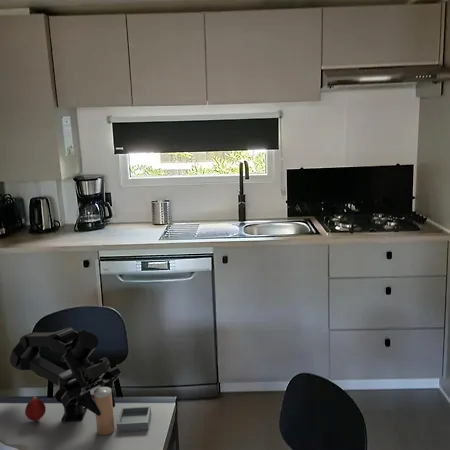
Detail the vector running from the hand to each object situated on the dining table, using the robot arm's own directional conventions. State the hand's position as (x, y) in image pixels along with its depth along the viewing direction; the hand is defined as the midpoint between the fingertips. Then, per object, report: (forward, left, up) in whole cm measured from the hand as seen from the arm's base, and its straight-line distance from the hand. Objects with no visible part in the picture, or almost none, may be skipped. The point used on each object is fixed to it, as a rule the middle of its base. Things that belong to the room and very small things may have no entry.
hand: (107, 410), depth 147 cm
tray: (-4, +7, -7) cm, 11 cm away
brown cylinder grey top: (-1, -1, -7) cm, 7 cm away
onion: (-8, -24, -7) cm, 26 cm away
